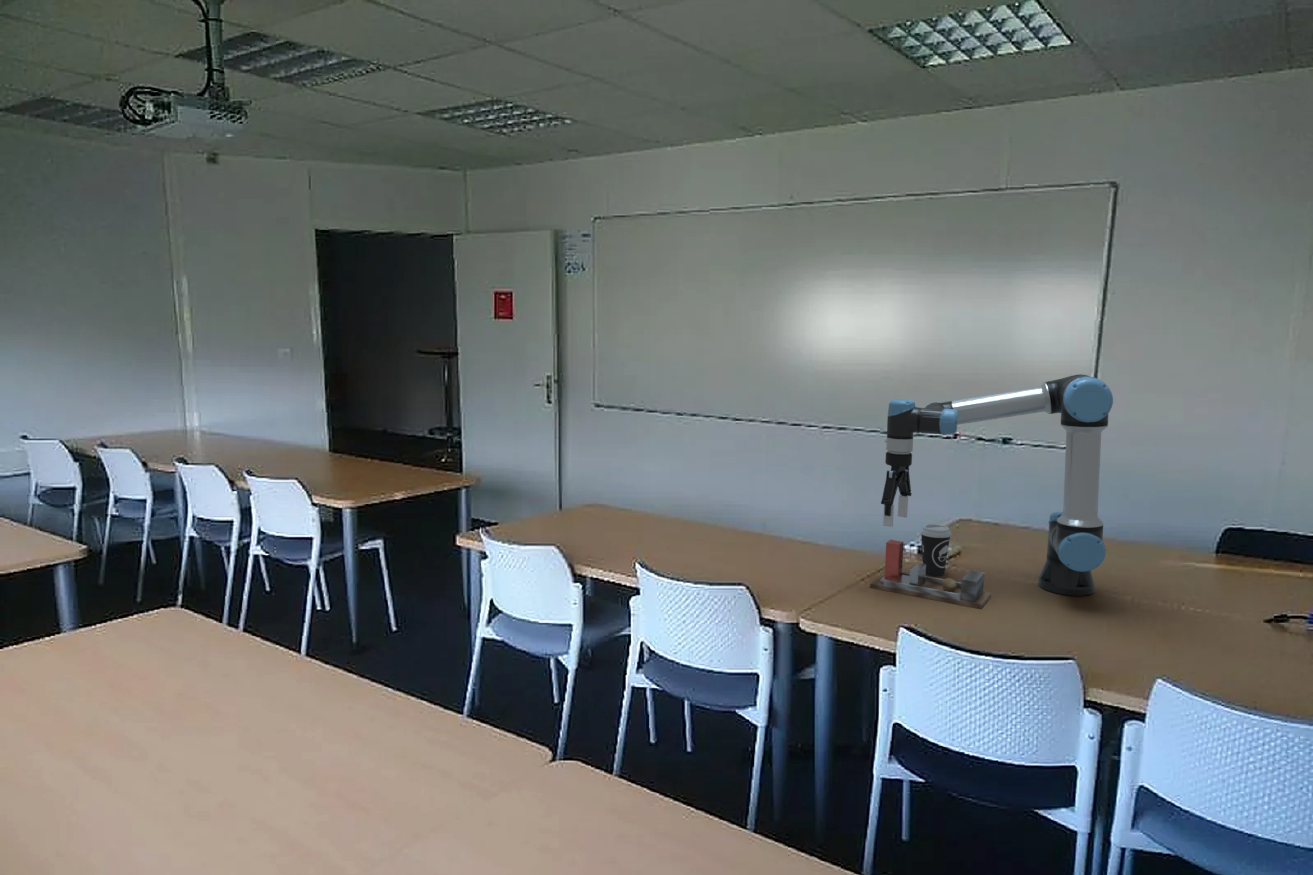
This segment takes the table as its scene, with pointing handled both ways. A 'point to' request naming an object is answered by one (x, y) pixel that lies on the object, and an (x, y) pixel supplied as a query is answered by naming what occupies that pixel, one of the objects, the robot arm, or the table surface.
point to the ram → (895, 566)
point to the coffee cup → (935, 548)
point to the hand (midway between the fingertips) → (895, 521)
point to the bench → (964, 594)
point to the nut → (949, 585)
